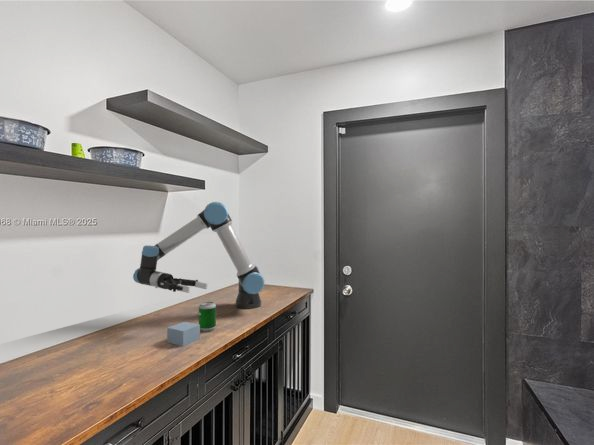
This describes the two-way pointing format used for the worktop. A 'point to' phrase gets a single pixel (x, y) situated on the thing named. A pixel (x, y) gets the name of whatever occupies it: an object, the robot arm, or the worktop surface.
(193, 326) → the base block
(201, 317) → the soda can
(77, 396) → the worktop surface
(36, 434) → the worktop surface
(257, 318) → the worktop surface
